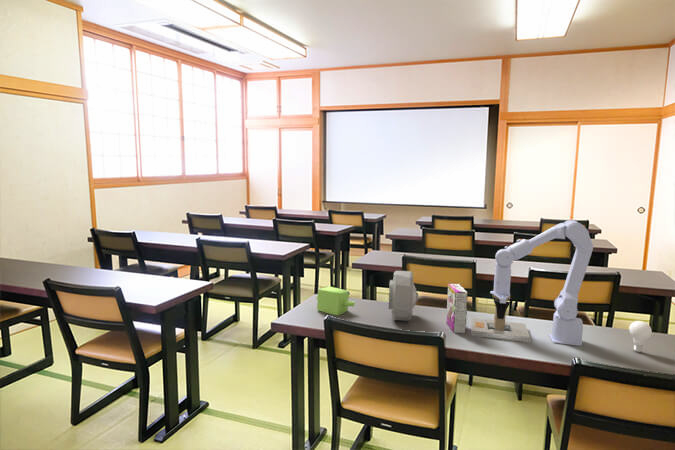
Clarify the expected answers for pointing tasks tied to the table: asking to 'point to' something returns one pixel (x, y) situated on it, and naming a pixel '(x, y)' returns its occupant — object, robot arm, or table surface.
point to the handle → (499, 323)
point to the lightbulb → (639, 334)
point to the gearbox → (333, 300)
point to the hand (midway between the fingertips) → (499, 316)
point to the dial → (402, 295)
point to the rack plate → (516, 331)
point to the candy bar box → (457, 308)
